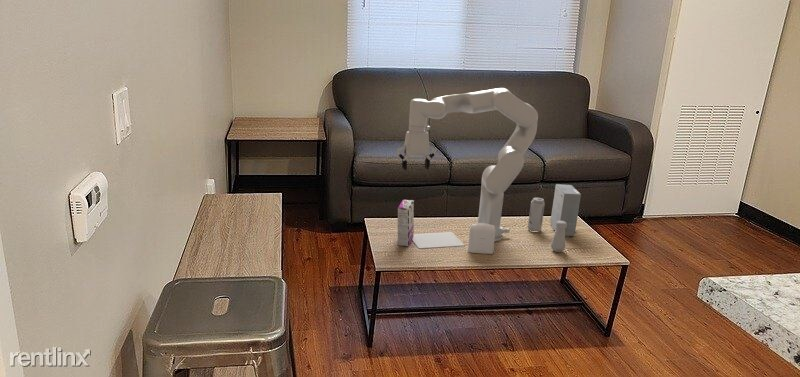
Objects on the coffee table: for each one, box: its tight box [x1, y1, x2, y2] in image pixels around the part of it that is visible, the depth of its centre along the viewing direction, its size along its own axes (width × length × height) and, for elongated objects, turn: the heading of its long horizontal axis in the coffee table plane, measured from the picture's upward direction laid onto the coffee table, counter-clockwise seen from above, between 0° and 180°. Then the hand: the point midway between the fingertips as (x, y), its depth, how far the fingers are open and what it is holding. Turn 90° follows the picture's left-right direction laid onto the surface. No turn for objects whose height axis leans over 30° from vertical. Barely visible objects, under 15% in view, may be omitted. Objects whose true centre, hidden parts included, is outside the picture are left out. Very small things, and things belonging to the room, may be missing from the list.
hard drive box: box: [549, 183, 582, 237], centre depth 256 cm, size 16×8×20 cm, turn 179°
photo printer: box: [467, 222, 495, 255], centre depth 228 cm, size 10×4×12 cm, turn 87°
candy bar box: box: [397, 199, 415, 247], centre depth 233 cm, size 11×5×16 cm, turn 169°
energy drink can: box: [527, 196, 546, 232], centre depth 255 cm, size 6×6×15 cm
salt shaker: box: [550, 221, 567, 253], centre depth 234 cm, size 6×6×13 cm
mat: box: [411, 231, 466, 250], centre depth 239 cm, size 20×15×1 cm
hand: (415, 169), depth 239 cm, fingers open, 9 cm apart
